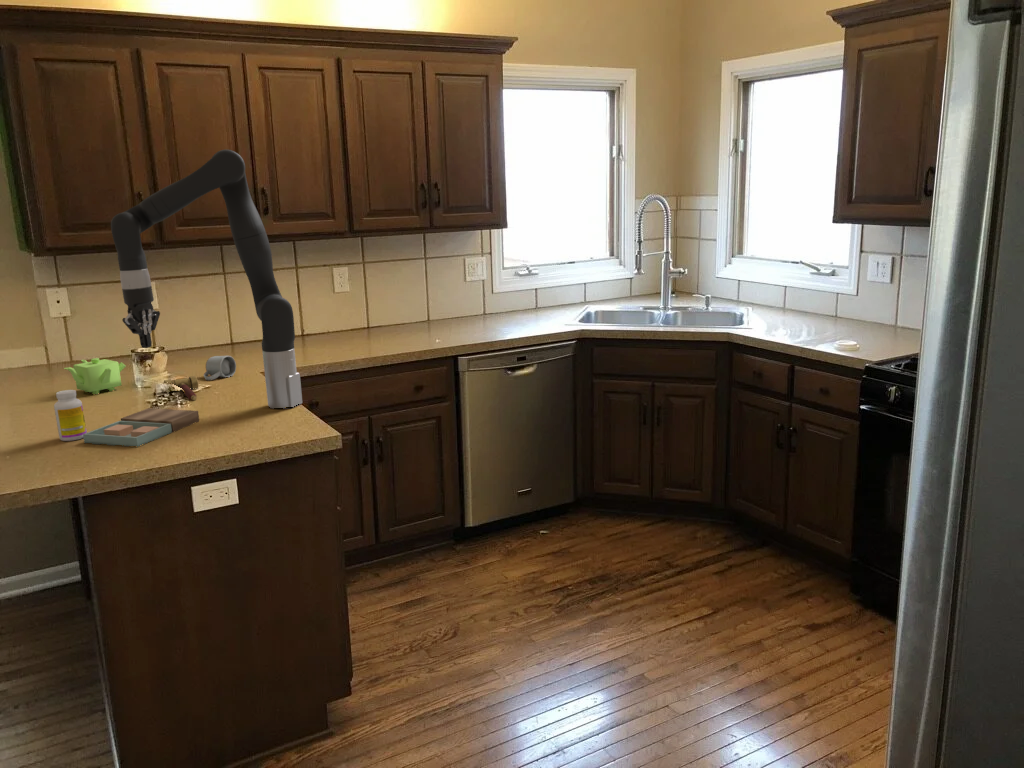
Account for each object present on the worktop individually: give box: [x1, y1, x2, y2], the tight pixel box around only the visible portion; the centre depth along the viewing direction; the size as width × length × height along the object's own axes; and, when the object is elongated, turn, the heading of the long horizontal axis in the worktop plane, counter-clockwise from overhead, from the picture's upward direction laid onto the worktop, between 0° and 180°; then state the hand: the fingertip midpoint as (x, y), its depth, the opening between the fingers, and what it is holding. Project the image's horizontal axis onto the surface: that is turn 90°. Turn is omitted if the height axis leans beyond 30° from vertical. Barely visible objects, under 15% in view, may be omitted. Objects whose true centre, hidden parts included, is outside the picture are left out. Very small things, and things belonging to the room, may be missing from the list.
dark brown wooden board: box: [120, 407, 200, 433], centre depth 229 cm, size 17×11×3 cm, turn 73°
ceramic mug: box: [203, 355, 237, 381], centre depth 287 cm, size 11×8×8 cm
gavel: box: [163, 375, 199, 401], centre depth 263 cm, size 21×5×10 cm
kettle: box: [63, 357, 127, 395], centre depth 272 cm, size 15×14×11 cm
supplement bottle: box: [53, 389, 88, 442], centre depth 218 cm, size 7×7×13 cm
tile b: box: [104, 425, 133, 436], centre depth 219 cm, size 5×5×2 cm
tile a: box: [130, 426, 159, 437], centre depth 216 cm, size 5×5×2 cm
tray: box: [82, 420, 173, 448], centre depth 217 cm, size 17×13×2 cm
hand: (146, 347), depth 229 cm, fingers closed
